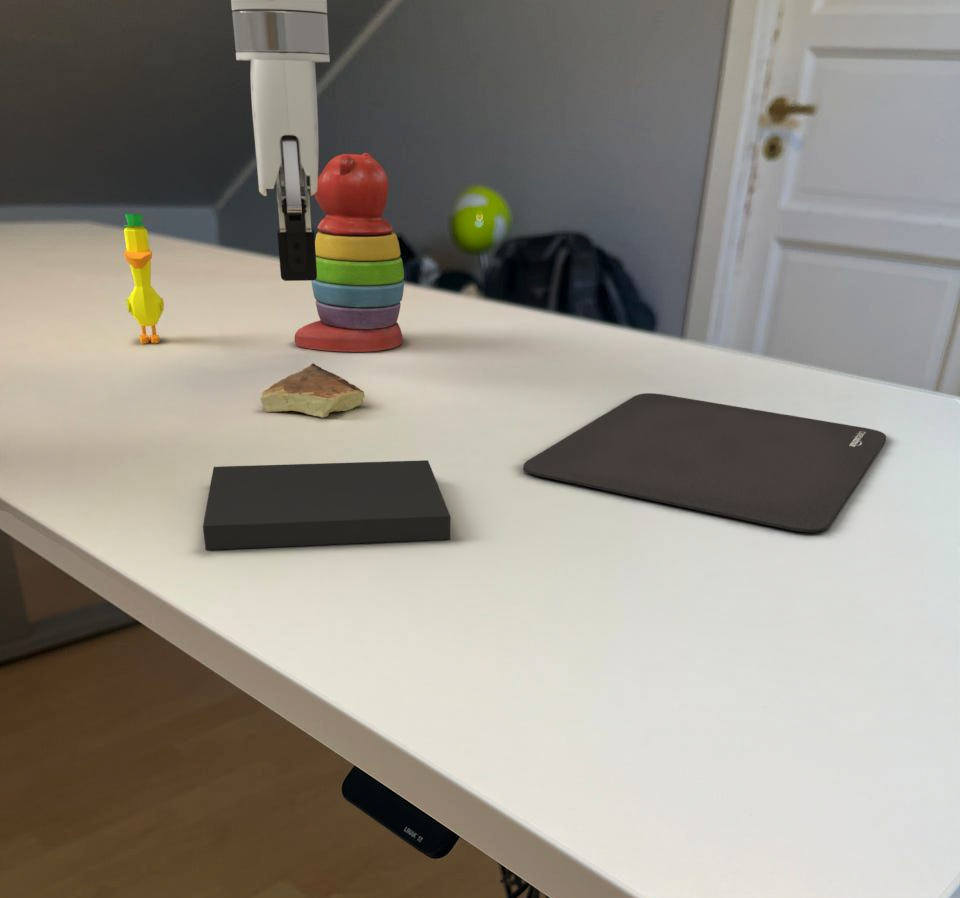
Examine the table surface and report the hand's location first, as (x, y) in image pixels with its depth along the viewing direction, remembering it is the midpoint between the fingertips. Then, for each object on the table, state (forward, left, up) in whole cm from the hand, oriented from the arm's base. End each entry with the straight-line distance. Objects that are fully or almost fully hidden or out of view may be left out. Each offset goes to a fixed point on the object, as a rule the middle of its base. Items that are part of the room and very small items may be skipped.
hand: (299, 278), depth 88 cm
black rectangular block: (+1, -37, -8) cm, 38 cm away
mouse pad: (+30, -28, -8) cm, 42 cm away
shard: (0, -11, -8) cm, 14 cm away
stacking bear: (+6, +11, -8) cm, 15 cm away
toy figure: (-15, +12, -8) cm, 21 cm away
